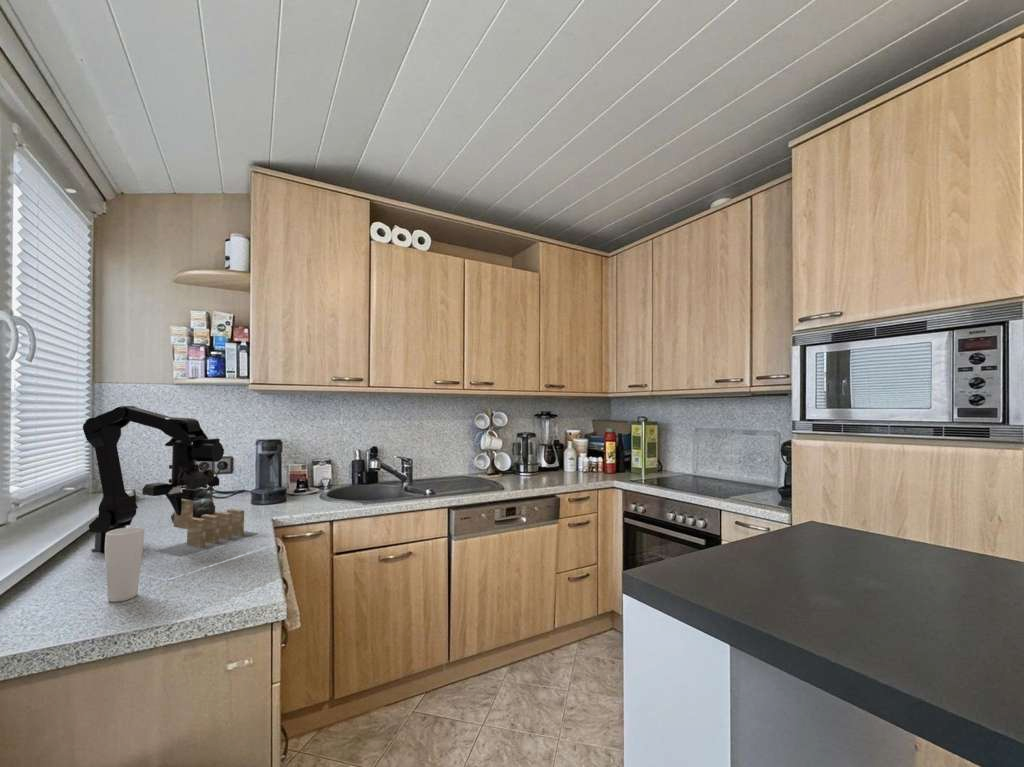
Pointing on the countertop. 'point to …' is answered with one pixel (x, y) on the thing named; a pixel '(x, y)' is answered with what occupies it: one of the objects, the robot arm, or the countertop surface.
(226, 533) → the wooden block
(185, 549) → the slate mat
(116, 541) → the beige tall tapered piece
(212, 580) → the countertop surface
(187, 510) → the domino
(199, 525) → the domino
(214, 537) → the domino
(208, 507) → the lucky cat figurine
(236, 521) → the domino
